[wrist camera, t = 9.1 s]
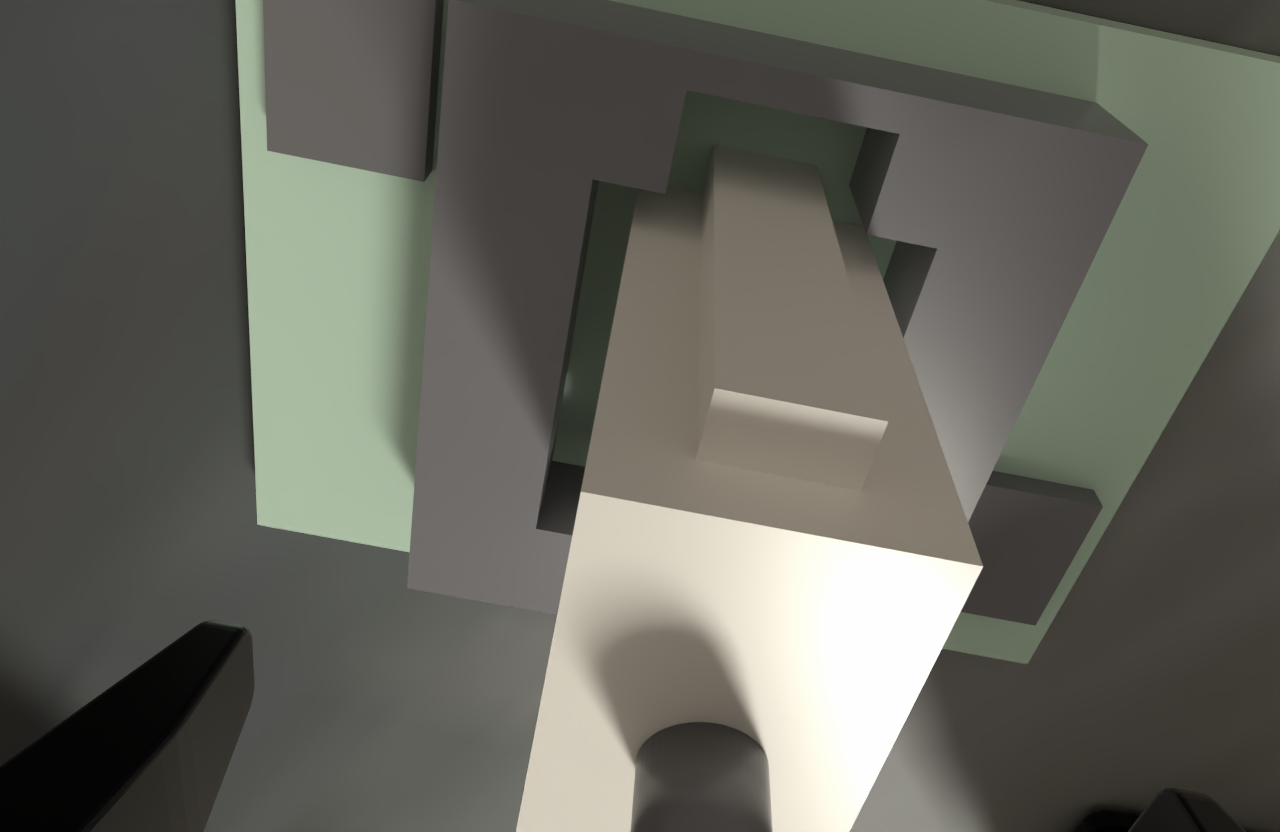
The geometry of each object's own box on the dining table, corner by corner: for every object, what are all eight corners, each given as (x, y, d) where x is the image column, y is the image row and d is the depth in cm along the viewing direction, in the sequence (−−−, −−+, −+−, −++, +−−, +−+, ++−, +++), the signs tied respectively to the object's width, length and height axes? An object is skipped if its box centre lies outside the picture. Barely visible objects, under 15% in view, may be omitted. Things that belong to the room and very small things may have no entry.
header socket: (1096, 102, 14) (1148, 144, 12) (879, 600, 19) (895, 676, 18) (482, -27, 14) (449, -2, 12) (434, 518, 19) (406, 588, 17)
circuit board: (1335, 68, 14) (1387, 90, 13) (1017, 636, 21) (1034, 683, 20) (253, -163, 14) (212, -160, 12) (273, 500, 20) (247, 540, 19)
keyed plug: (880, 177, 15) (1079, 635, 7) (781, 476, 18) (836, 1033, 10) (649, 131, 15) (572, 542, 7) (590, 441, 18) (488, 976, 10)
